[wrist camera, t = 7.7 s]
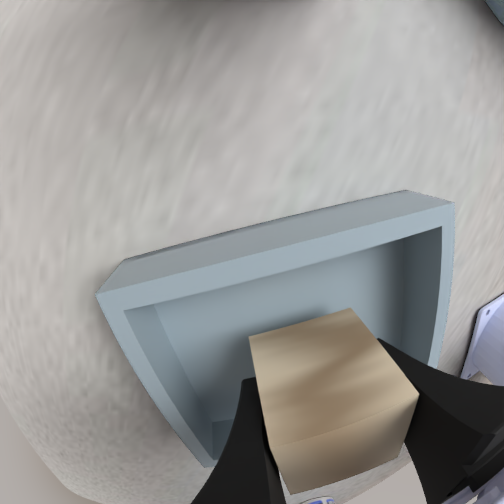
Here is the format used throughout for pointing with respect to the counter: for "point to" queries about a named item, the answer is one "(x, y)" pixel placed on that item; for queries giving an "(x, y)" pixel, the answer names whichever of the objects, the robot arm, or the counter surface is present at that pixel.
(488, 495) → the robot arm
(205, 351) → the bin
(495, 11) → the teal cylindrical container
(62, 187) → the counter surface
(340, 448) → the block
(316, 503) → the pill bottle
